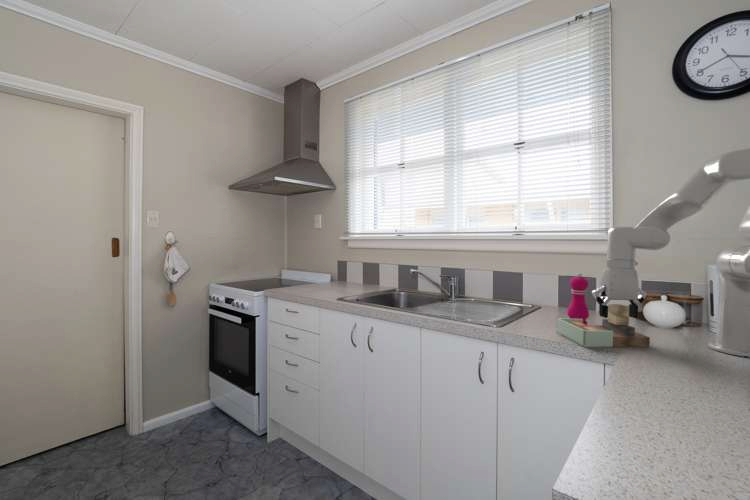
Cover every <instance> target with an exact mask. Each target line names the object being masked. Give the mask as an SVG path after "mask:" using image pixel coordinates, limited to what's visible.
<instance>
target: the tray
mask: <svg viewBox="0 0 750 500" xmlns="http://www.w3.org/2000/svg"><path fill="white" fill-rule="evenodd" d="M572 322H580V323H582V324H583V319H570V318H558V317H557V318H556V333H557V334H558V335H561V336H562V337H563V338H566V339H567V340H570V341H571V340H572V341H571V342H573V343H575V344H577V345H578V346H581V347H583V348H611V347H613V331H592V330H583V329H581V328H579V327H576V326H574V325H572Z"/></svg>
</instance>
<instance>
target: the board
mask: <svg viewBox="0 0 750 500" xmlns="http://www.w3.org/2000/svg"><path fill="white" fill-rule="evenodd" d="M586 327H592V328H594V329H597V330H598V331H612V330H610V329H607V328H605V327H602V324H599V325H597V324H595V325H594V324H591V325H590V324H587V325H586ZM650 340H651V338H650V336H647V335H644V334H641V333H639V332H636V331H635V336H625V335H622V334H620V333H617V332H615V331H613V346H623V347H624V348H625V347H627V348H628V347H629V348H650V342H651V341H650ZM623 347H622V348H623Z"/></svg>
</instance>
